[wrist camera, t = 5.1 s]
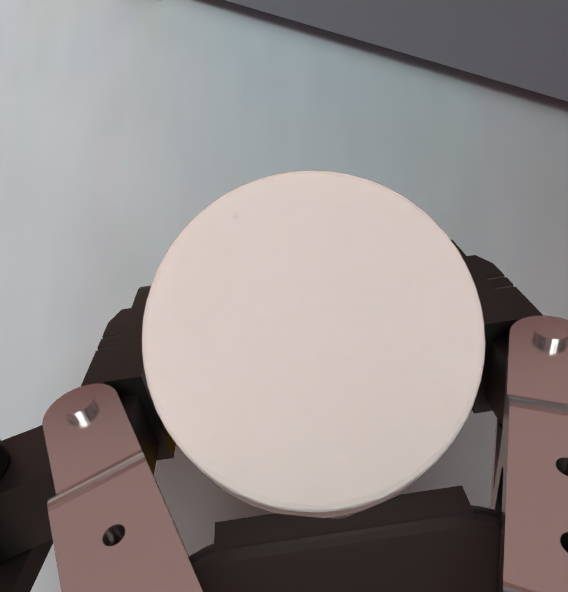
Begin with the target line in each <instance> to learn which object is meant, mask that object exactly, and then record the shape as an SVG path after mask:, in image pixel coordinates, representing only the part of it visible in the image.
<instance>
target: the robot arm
mask: <svg viewBox="0 0 568 592" xmlns="http://www.w3.org/2000/svg"><path fill="white" fill-rule="evenodd" d="M450 240H451V239H450ZM451 241H452V243H453V244H454V245H455V247H456V248H457V249H458V251H459V253H460V255H461V256H462V258H463V260H464V262H465V264H466V266H467V268H468V270H469V272H470V274H471V276H472V279H473V281H474V284H475V286H476V290H477V293H478V297H479V300H480V304H481V308H482V314H483V320H484V332H485V359H484V366H483V371H482V377H481V382H480V385H479V388H478V391H477V395H476V398H475V401H474V404H473V407H472V410H473V412H474V413H479V412H486V411H492V410H493V412H494V413H495V415H496V417H497V424H496V430H495V445H494V460H493V476H492V491H491V505H490V508H485V507H480V506H471V505H470V503H469V501H468V499H467V496H466V494H465V492H464V490H463V487H462V486H456V487H449V488H443V489H436V490H429V491H422V492H416V493H409V494H402V495H399V496H397V497H394V498H392V499H389V500H387V501H385V502H382V503H380V504H378V505H375V506H373V507H370V508H368V509H366V510H363V511H361V512H358V513H356V514H354V515H351V516H349V517H346V518H343V519H328V518H317V517H307V516H297V515H287V514H276V513H275V514H268V515H262V516H255V517H248V518H242V519H235V520H228V521H222V522H215V538H214V544H212V545H209V546H207V547H205V548H203V549H201V550H199V551H198V552H196V553H194V554H192V555H191V556H189V555H188V553H187V551H186V548H185V546H184V544H183V542H182V539H181V537H180V535H179V532H178V530H177V528H176V525H175V523H174V521H173V519H172V516H171V514H170V512H169V509H168V507H167V505H166V503H165V500H164V498H163V496H162V493H161V491H160V489H159V486H158V484H157V482H156V480H155V477H154V470H155V465H156V460H162V459H168V458H173V457H174V451H175V445H176V443H175V441H174V440H173V439H172V437H171V436H170V434H169V433H168V431H167V430H166V428H165V426H164V424H163V422H162V420H161V419H160V417H159V415H158V413H157V411H156V408H155V406H154V403H153V400H152V398H151V395H150V392H149V388H148V385H147V380H146V375H145V370H144V364H143V355H142V327H143V317H144V311H145V306H146V301H147V298H148V295H149V291H150V288H151V286H145V287H140V288H139V289H138V292H137V294H136V297H135V300H134V302H133V305H132V308H129V309H122V310H121V311H120V312H119V313H118V314H117V315H116V316H115V317H114V318H113V319H112V320H111V321H110V322H109V323H108V325H107V327H106V329H105V332H104V334H103V336H102V337H103V339H101V341H100V343H99V346H98V351H96V353H95V355H94V357H93V360H92V362H91V364H90V366H89V369H88V371H87V373H86V376H85V378H84V380H83V383H82V385H81V387H78V388H76V389H74V390H72V391H70V392H68V393H66V394H64V395H63V396H61V397H60V398H59V399H57V400H56V401H55V402H54V403H53V404H52V405H51V406H50V408H49V409H48V410H47V412H46V413H45V416H44V418H43V425H41V426H39V427H37V428H34V429H32V430H29V431H26V432H24V433H21V434H18V435H16V436H13V437H11V438H8V439H5V440H3V441H1V440H0V592H30V591H31V589H32V586H33V584H34V582H35V580H36V578H37V576H38V574H39V572H40V569H41V567H42V565H43V563H44V561H45V559H46V557H47V555H48V552H49V550H50V548H51V546H52V544H54V549H55V555H56V561H57V567H58V573H59V578H60V584H61V590H62V592H568V320H566V319H563V318H558V317H553V316H543V315H542V314H541V313H540V312H539V311H538V310H537V309H536V308H535V306H534V305H533V304H532V303H531V302H530V301H529V300H528V299H527V298H526V297H525V296H524V295H523V294H522V293H521V292H520V291H519V290H518V289H517V288H516V287H513V284H512V283H511V282H510V281H509V279H508V278H507V277H504V274H503V273H502V272H501V271H500V270H499V269H498V268H497V267H496V266H495V265H494V264H493V263H491V262H489V261H487V260H485V259H482V258H480V257H478V256H476V255H473V256H466V255H465V254H464V253H463V251H462V250H461V249H460V248H459V247H458V246H457V245H456V244H455V242H454V241H453V240H451Z"/></svg>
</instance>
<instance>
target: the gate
mask: <svg viewBox="0 0 568 592" xmlns="http://www.w3.org/2000/svg"><path fill="white" fill-rule="evenodd" d="M225 1H229V2H232V3H236V4H239V5H242V6H246V7H249V8H253V9H256V10H259V11H263V12H266V13H269V14H273V15H276V16H280V17H283V18H286V19H290V20H293V21H297V22H300V23H303V24H307V25H310V26H314V27H317V28H320V29H324V30H327V31H330V32H334V33H337V34H341V35H344V36H347V37H351V38H354V39H358V40H361V41H364V42H368V43H371V44H375V45H378V46H381V47H385V48H388V49H391V50H395V51H398V52H402V53H405V54H408V55H412V56H415V57H419V58H422V59H425V60H429V61H432V62H436V63H439V64H442V65H446V66H449V67H453V68H456V69H459V70H463V71H466V72H469V73H473V74H476V75H480V76H483V77H486V78H490V79H493V80H497V81H500V82H503V83H507V84H510V85H514V86H517V87H520V88H524V89H527V90H530V91H534V92H537V93H541V94H544V95H547V96H551V97H554V98H558V99H561V100H564V101H568V0H225Z"/></svg>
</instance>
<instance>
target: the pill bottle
mask: <svg viewBox="0 0 568 592" xmlns="http://www.w3.org/2000/svg"><path fill="white" fill-rule="evenodd" d="M142 355H143V364H144V370H145V375H146V380H147V385H148V388H149V392H150V395H151V398H152V400H153V403H154V406H155V408H156V411H157V413H158V415H159V417H160V419H161V420H162V422H163V424H164V426H165V428H166V430H167V431H168V433H169V434H170V436H171V437H172V439H173V440H174V441H175V443H176V444H177V445H178V447H179V448H180V449H181V450H182V451H183V453H184V454H185V455H186V456H187V457H188V458H189V459H190V460H191V461H192V462H193V463H194V464H195V465H196V466H197V467H198V468H199V469H200V471H201V472H202V473H203V474H204V475H205V476H207V477H208V478H209V479H210V480H211V481H212V482H213V483H215V484H216V485H217V486H219V487H220V488H221V489H223V490H224V491H225V492H227V493H228V494H230V495H232V496H234V497H235V498H237V499H239V500H241V501H243V502H245V503H247V504H249V505H252V506H255V507H258V508H260V509H263V510H267V511H270V512H273V513H276V514H287V515H297V516H307V517H317V518H330V517H338V516H344V515H348V514H353V513H357V512H360V511H363V510H366V509H368V508H370V507H373V506H375V505H378V504H380V503H382V502H384V501H386V500H388V499H390V498H392V497H393V496H395V495H397V494H398V493H400V492H401V491H403V490H404V489H405V488H407V487H408V486H410V485H411V484H412V483H413V482H415V481H416V480H417V479H418V478H419V477H420V476H421V475H422V474H423V473H425V472H426V471H427V470H428V469H429V468H430V467H431V466H432V465H433V464H434V463H436V462H437V461H438V459H439V458H440V457H441V456H442V455H443V454H444V453H445V451H446V450H447V449H448V448H449V447H450V445H451V444H452V443H453V441H454V440H455V438H456V437H457V435H458V433H459V432H460V430H461V429H462V427H463V425H464V424H465V422H466V420H467V418H468V416H469V414H470V411H471V409H472V407H473V404H474V401H475V398H476V395H477V391H478V388H479V385H480V382H481V377H482V371H483V366H484V359H485V332H484V320H483V314H482V308H481V304H480V300H479V297H478V293H477V290H476V286H475V284H474V281H473V279H472V276H471V274H470V272H469V270H468V268H467V266H466V264H465V262H464V260H463V258H462V256H461V255H460V253H459V251H458V249H457V248H456V247H455V245H454V244H453V243H452V241H451V240H450V238H449V237H448V236H447V234H446V233H445V232H444V231H443V230H442V229H441V228H440V227H439V226H438V225H437V224H436V223H435V222H434V221H433V220H432V219H431V218H430V217H429V216H428V215H427V214H426V213H425V212H424V211H423V210H421V209H420V208H419V207H417V206H416V205H415V204H413V203H412V202H411V201H410V200H408V199H406V198H405V197H403V196H402V195H400V194H398V193H396V192H394V191H393V190H391V189H389V188H387V187H385V186H383V185H380V184H378V183H375V182H373V181H370V180H367V179H364V178H360V177H356V176H352V175H348V174H343V173H337V172H329V171H295V172H287V173H280V174H275V175H271V176H267V177H263V178H261V179H258V180H255V181H252V182H250V183H247V184H244V185H242V186H240V187H238V188H236V189H234V190H233V191H231V192H229V193H227V194H225V195H223V196H222V197H220V198H218V199H217V200H215V201H214V202H213V203H211V204H210V205H209V206H207V207H206V208H205V209H204V210H203V211H201V212H200V213H199V214H198V215H197V216H196V217H195V218H194V219H193V220H192V221H191V222H190V223H189V224H188V225H187V226H186V227H185V228H184V229H183V230H182V232H181V233H180V234H179V235H178V237H177V238H176V239H175V240H174V242H173V243H172V245H171V246H170V248H169V250H168V251H167V253H166V255H165V256H164V258H163V260H162V261H161V263H160V266H159V268H158V270H157V272H156V274H155V276H154V279H153V282H152V284H151V288H150V291H149V295H148V298H147V301H146V306H145V311H144V317H143V327H142Z"/></svg>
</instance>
